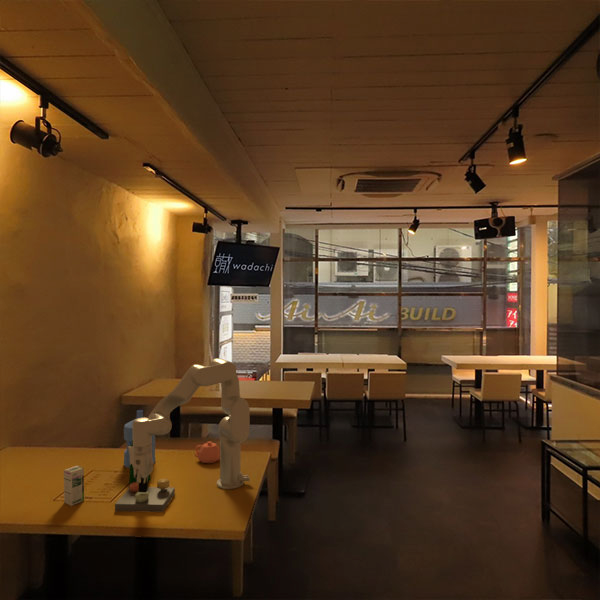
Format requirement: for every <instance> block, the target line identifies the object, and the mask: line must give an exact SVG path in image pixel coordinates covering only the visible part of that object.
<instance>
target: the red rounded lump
mask: <svg viewBox="0 0 600 600" xmlns="http://www.w3.org/2000/svg"><path fill="white" fill-rule="evenodd" d="M129 488H130V492H139V483H137V482H133V483H131V484H130V485H129Z"/></svg>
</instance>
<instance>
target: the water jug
mask: <svg viewBox="0 0 600 600" xmlns="http://www.w3.org/2000/svg"><path fill="white" fill-rule="evenodd" d="M143 412H144V410H143V409H138V410H136V418H135V419H133V420H131V421H128V422H127V423H125V424H124V426H123V439H124V440H125V442H126V449H125V450H124V451H123V465H124V467H125V468H127V469H130V454H129V449H128V447H129V446H131V444H132V440H133V427H132V425H133V421H134V420H136V419H138V418H144V413H143ZM152 459H153V464H154V463H156V435H152Z"/></svg>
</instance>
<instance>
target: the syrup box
mask: <svg viewBox="0 0 600 600" xmlns="http://www.w3.org/2000/svg"><path fill="white" fill-rule="evenodd" d="M84 475H85V472H84V467H82V466H80V465H74V466H72V467H69V468H66V469H64V470H63V498H64V499H63V500H64V503H65V504H66V505H69V506H71V507H72V506H73V507H74V505H77V504H79V503H82V502H84V501H85V476H84Z"/></svg>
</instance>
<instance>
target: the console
mask: <svg viewBox="0 0 600 600" xmlns="http://www.w3.org/2000/svg"><path fill="white" fill-rule="evenodd" d="M175 489H176V488H175V487H170V486H169V487H168V488H165V492H161V489H158V488H157V486H148V490H147V492H149V499H148V500H147V501H145V502H136V493H138V492H130V487H129V488H128V489H127V490H126V491H125V492H124V494H122V495H121V497H119V499H118V500H117V501H116V502H115V504H114V512H136V511H138V512H146V513H151V512H152V513H154V512H155V513H163V512H164V511H165V510H166V508H167V507H168V505H169V504H170V502H171V501H172V499H173V498H174V496H175V494H176V490H175Z"/></svg>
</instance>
